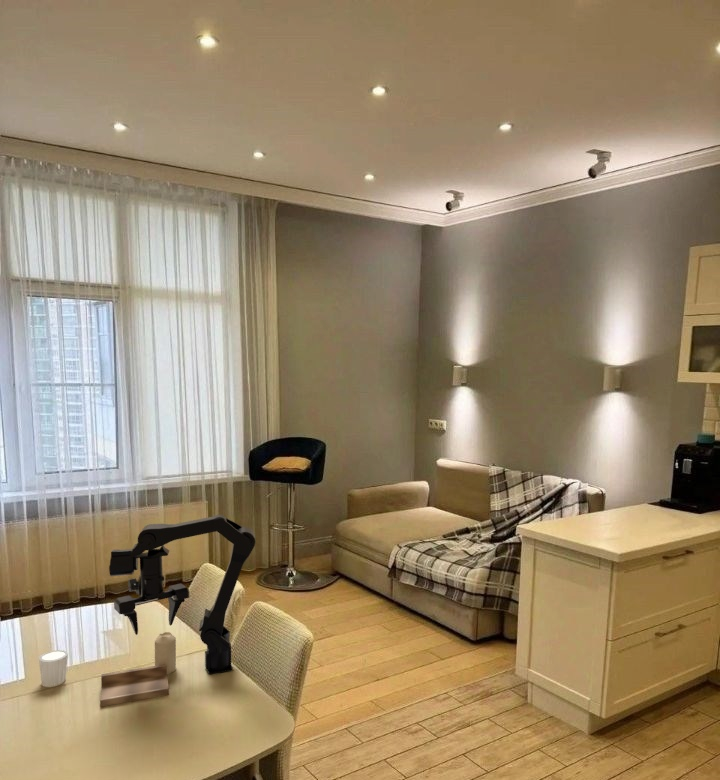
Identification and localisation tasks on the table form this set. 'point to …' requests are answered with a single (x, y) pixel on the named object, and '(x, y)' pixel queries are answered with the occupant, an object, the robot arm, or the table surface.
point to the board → (134, 685)
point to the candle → (166, 651)
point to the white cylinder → (53, 667)
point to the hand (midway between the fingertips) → (153, 629)
